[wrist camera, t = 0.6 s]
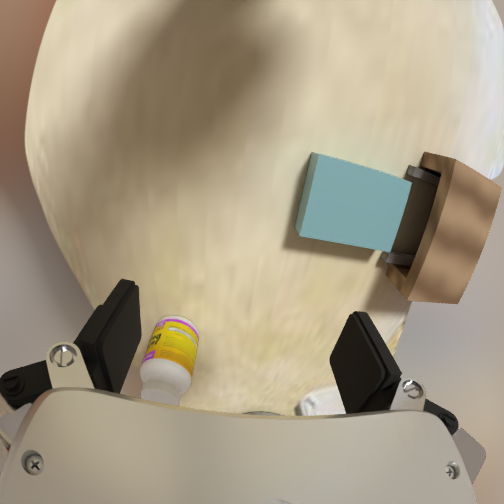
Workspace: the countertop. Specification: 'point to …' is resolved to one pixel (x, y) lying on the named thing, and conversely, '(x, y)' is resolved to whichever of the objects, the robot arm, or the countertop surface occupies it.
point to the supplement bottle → (169, 360)
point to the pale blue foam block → (351, 204)
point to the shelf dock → (446, 233)
